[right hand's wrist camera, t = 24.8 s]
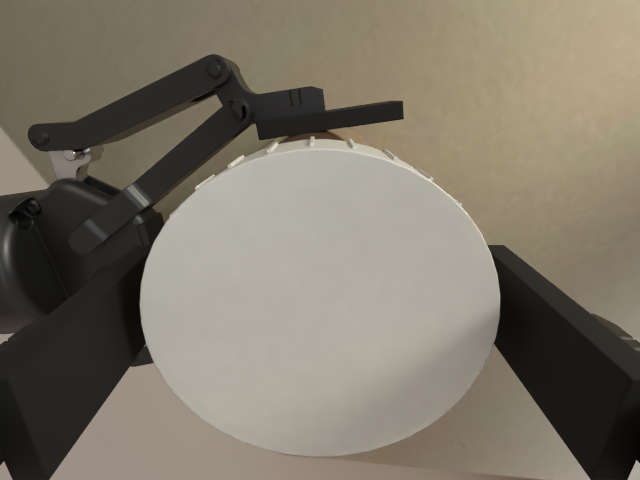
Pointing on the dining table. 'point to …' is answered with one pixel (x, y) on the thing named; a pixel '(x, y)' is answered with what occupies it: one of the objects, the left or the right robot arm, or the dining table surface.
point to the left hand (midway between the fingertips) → (403, 212)
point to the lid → (319, 299)
